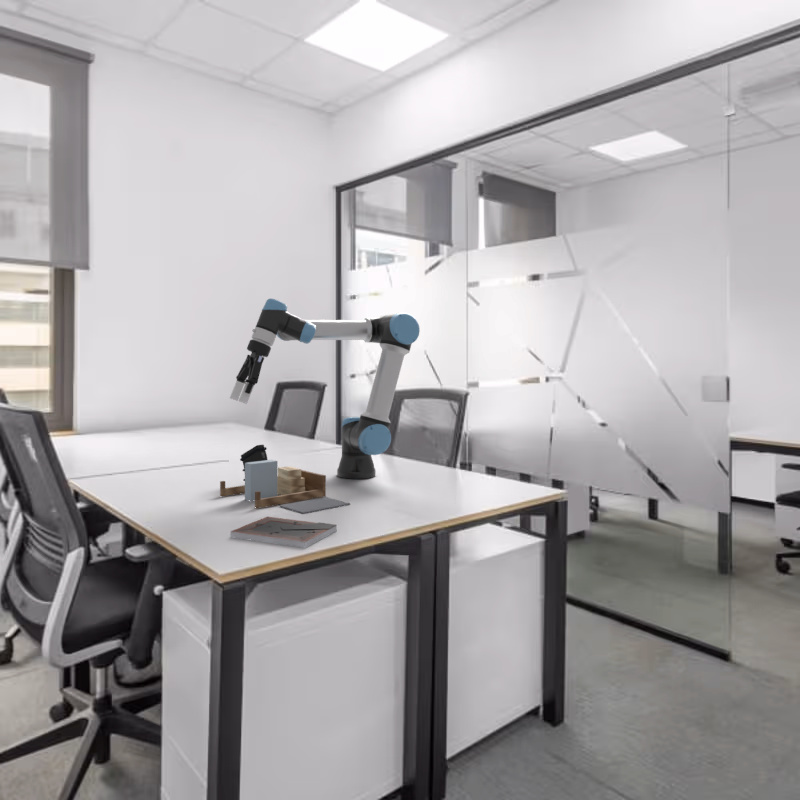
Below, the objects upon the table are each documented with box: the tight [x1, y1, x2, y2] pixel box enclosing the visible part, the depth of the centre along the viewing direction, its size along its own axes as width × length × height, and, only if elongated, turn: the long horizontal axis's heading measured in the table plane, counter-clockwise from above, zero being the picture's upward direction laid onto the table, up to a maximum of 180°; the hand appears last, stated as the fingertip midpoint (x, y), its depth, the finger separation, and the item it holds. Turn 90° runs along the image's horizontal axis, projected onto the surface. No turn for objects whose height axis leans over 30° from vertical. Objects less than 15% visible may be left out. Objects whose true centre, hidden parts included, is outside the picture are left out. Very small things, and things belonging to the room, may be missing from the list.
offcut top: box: [277, 465, 302, 480], centre depth 208 cm, size 5×7×3 cm
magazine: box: [239, 444, 269, 482], centre depth 219 cm, size 4×13×15 cm, turn 50°
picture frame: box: [230, 516, 338, 549], centre depth 160 cm, size 16×2×22 cm
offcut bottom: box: [277, 486, 305, 495], centre depth 208 cm, size 6×10×3 cm, turn 45°
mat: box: [279, 496, 351, 515], centre depth 192 cm, size 18×12×1 cm, turn 135°
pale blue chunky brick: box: [244, 459, 278, 502], centre depth 200 cm, size 10×4×12 cm, turn 135°
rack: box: [219, 469, 327, 509], centre depth 204 cm, size 26×22×7 cm
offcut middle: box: [277, 475, 305, 489], centre depth 208 cm, size 6×9×3 cm, turn 49°
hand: (237, 401), depth 208 cm, fingers open, 13 cm apart
